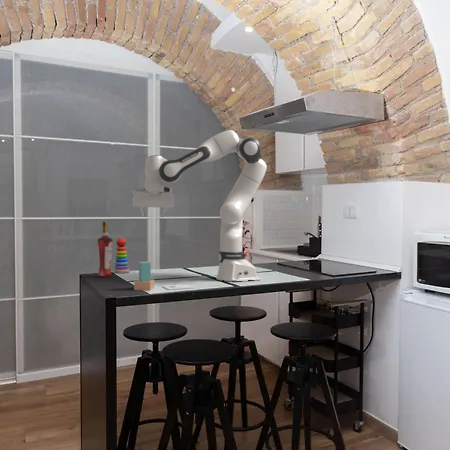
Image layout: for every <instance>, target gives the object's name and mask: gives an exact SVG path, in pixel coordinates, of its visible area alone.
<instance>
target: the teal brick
mask: <svg viewBox="0 0 450 450" xmlns="http://www.w3.org/2000/svg"><path fill="white" fill-rule="evenodd" d="M151 266H152V265H151V261H138V279H139V280H140V281H151V280H152V279H151V271H152V270H151Z"/></svg>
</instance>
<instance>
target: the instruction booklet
mask: <svg viewBox="0 0 450 450" xmlns="http://www.w3.org/2000/svg"><path fill="white" fill-rule="evenodd" d="M161 287H162V288H164V289H166V290H168V291H171V290H172V291H173V290H186V289H187V290H189V289H195V287H194V286H192V285H189V284H187V283H185V284H169V285H168V284H166V285H161Z"/></svg>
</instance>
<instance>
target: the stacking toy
mask: <svg viewBox="0 0 450 450" xmlns="http://www.w3.org/2000/svg"><path fill="white" fill-rule="evenodd" d="M126 243H127V241H126V239H125V238H124V237H119V238H117V240H116V246H117V247H116V250H117V251H116V255H115V262H114V264H115V266H114V273H116V274H126V273H129V272H130V265H129V259H128V255H127V247H126Z"/></svg>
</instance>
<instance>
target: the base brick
mask: <svg viewBox="0 0 450 450" xmlns="http://www.w3.org/2000/svg"><path fill="white" fill-rule="evenodd" d="M133 289H134V290H133V291H146V292H147V291H148V292H149V291H152V290H153V289H155V279H151V281H140V280H139V278H138V279H136V280H134V282H133Z"/></svg>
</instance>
